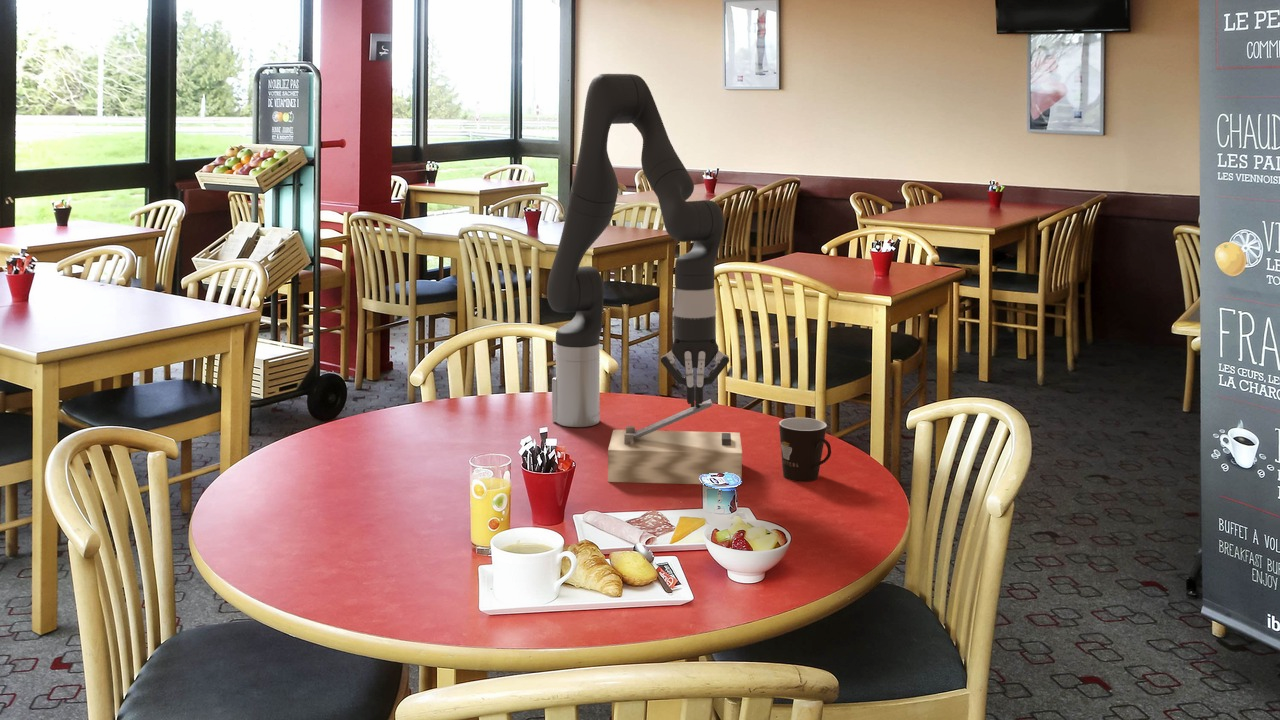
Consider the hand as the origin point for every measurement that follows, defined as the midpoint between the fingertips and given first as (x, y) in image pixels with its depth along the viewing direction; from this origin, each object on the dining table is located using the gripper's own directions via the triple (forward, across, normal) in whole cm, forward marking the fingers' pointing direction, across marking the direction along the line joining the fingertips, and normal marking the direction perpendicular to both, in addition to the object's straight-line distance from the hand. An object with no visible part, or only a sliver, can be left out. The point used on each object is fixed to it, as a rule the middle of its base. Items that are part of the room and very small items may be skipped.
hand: (695, 406), depth 211 cm
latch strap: (+3, -4, 0) cm, 5 cm away
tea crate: (+13, -4, 0) cm, 13 cm away
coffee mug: (+14, +20, -2) cm, 24 cm away
